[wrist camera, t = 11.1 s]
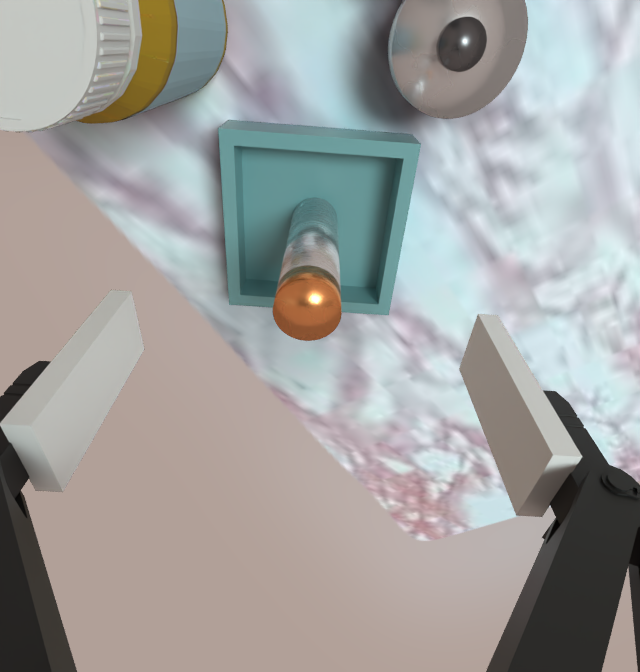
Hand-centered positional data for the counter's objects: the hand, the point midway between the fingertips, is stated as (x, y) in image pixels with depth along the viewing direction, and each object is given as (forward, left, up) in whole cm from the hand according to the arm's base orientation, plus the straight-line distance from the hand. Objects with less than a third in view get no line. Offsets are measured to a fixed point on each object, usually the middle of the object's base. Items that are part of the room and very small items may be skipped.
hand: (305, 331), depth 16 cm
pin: (0, 0, -14) cm, 14 cm away
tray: (0, 0, -14) cm, 14 cm away
